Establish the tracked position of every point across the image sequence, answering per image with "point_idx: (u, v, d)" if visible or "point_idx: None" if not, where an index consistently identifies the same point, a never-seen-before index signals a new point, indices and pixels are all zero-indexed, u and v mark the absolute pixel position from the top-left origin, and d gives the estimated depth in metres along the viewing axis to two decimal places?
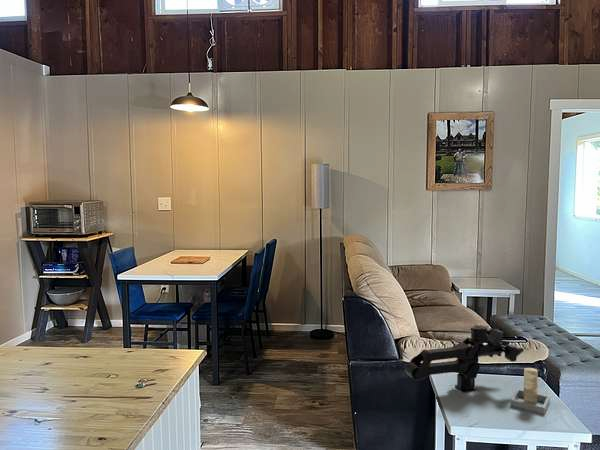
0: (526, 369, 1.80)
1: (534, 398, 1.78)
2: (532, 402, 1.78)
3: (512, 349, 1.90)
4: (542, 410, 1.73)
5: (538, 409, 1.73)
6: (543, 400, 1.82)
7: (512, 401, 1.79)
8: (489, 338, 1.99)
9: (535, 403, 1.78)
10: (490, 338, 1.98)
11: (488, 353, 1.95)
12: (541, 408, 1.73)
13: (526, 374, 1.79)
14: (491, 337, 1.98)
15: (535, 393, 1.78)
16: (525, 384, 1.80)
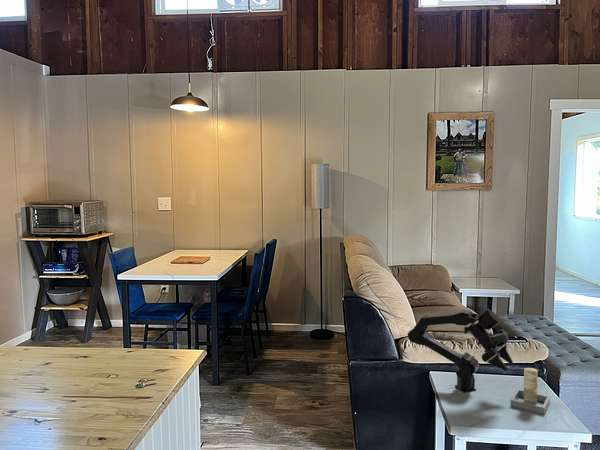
0: (526, 369, 1.80)
1: (534, 398, 1.78)
2: (532, 402, 1.78)
3: (491, 351, 1.80)
4: (542, 410, 1.73)
5: (538, 409, 1.73)
6: (543, 400, 1.82)
7: (512, 401, 1.79)
8: None
9: (535, 403, 1.78)
10: (495, 335, 1.88)
11: (477, 338, 1.89)
12: (541, 408, 1.73)
13: (526, 374, 1.79)
14: (496, 335, 1.87)
15: (535, 393, 1.78)
16: (525, 384, 1.80)
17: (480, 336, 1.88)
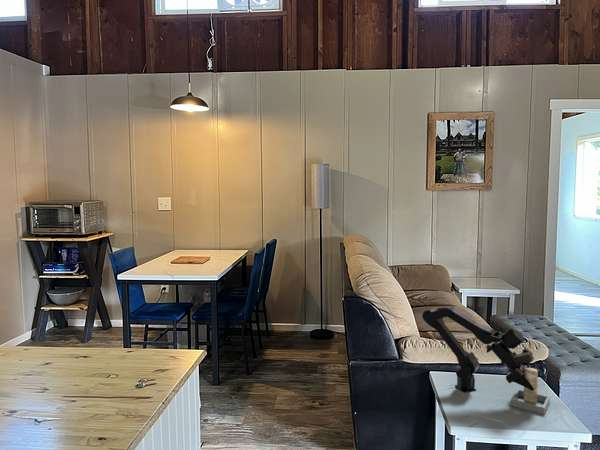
0: (526, 369, 1.80)
1: (534, 398, 1.78)
2: (532, 402, 1.78)
3: (516, 372, 1.75)
4: (542, 410, 1.73)
5: (538, 409, 1.73)
6: (543, 400, 1.82)
7: (512, 401, 1.79)
8: (519, 354, 1.83)
9: (535, 403, 1.78)
10: (519, 354, 1.83)
11: (501, 357, 1.84)
12: (541, 408, 1.73)
13: (526, 374, 1.79)
14: (520, 354, 1.82)
15: (535, 393, 1.78)
16: None
17: (504, 355, 1.83)
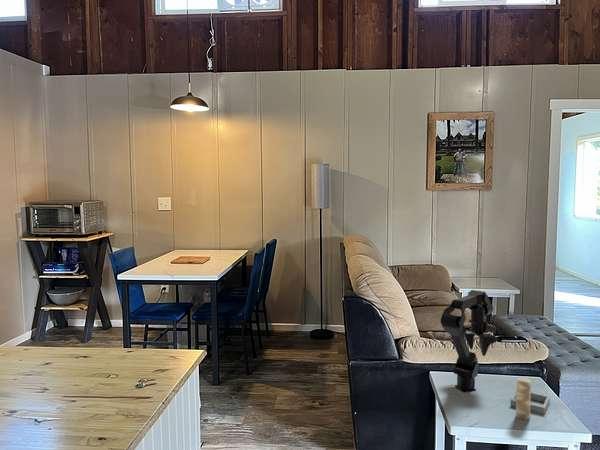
0: (519, 379, 1.71)
1: (524, 410, 1.68)
2: (522, 414, 1.69)
3: (495, 337, 1.95)
4: (542, 410, 1.73)
5: (538, 409, 1.73)
6: (543, 400, 1.82)
7: (512, 401, 1.79)
8: None
9: (525, 416, 1.68)
10: None
11: (482, 318, 2.00)
12: (541, 408, 1.73)
13: (517, 384, 1.70)
14: None
15: (525, 405, 1.68)
16: (516, 394, 1.71)
17: (484, 318, 2.01)
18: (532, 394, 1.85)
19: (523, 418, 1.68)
